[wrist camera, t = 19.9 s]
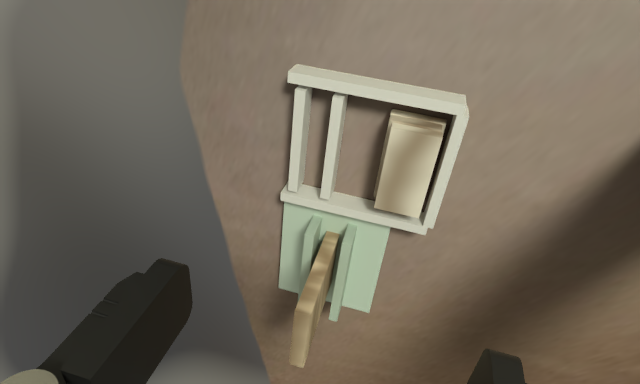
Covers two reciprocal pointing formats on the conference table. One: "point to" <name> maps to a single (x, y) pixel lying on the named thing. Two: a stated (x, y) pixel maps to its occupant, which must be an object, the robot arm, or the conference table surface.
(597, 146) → the conference table surface
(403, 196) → the offcut stack
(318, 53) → the conference table surface
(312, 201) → the rack
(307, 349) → the wooden board
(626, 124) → the conference table surface
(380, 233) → the stand
